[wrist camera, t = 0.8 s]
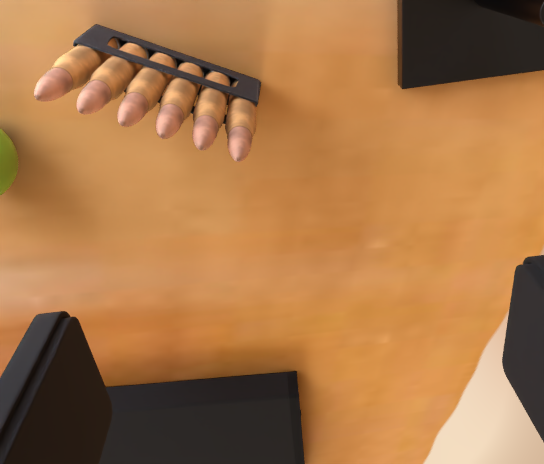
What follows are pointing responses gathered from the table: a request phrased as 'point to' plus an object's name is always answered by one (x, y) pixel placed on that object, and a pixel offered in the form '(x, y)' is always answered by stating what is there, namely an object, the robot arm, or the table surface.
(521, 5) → the stand
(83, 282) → the table surface
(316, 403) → the table surface
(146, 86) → the ammunition clip
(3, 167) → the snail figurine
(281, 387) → the external hard drive
